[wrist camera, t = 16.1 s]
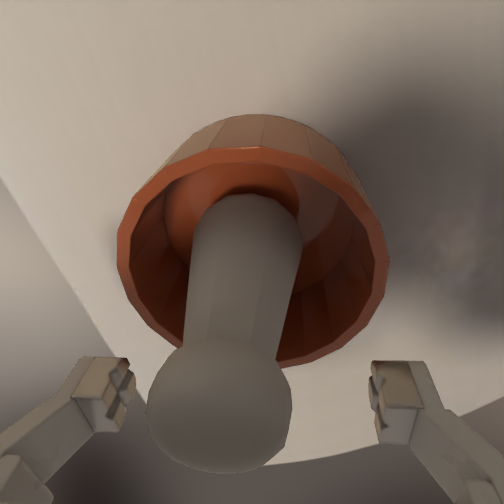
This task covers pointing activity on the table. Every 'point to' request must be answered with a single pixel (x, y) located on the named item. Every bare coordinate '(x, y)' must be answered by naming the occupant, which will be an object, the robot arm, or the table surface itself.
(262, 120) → the pot
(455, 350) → the table surface
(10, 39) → the table surface
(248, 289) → the grey rounded piece
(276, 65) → the table surface
